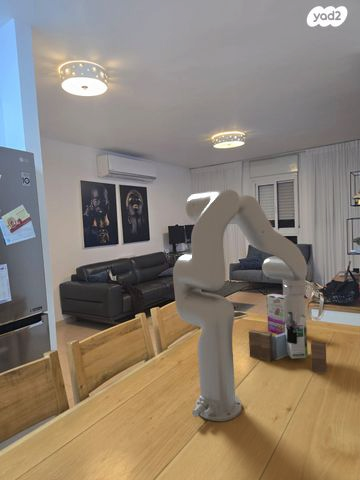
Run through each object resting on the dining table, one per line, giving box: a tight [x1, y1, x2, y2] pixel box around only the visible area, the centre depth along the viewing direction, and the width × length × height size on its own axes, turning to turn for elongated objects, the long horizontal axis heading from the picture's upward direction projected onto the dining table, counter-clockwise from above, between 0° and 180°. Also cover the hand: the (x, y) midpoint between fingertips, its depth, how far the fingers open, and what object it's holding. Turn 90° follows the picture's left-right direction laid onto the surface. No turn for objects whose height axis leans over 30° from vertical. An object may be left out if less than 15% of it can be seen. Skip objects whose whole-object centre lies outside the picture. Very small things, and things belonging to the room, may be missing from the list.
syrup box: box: [285, 315, 309, 360], centre depth 111 cm, size 6×6×14 cm
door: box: [272, 332, 289, 361], centre depth 114 cm, size 2×13×9 cm, turn 121°
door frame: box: [248, 329, 328, 375], centre depth 109 cm, size 3×26×10 cm, turn 53°
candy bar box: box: [266, 292, 286, 335], centre depth 137 cm, size 11×5×16 cm, turn 37°
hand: (296, 338), depth 111 cm, fingers closed on syrup box, 7 cm apart
